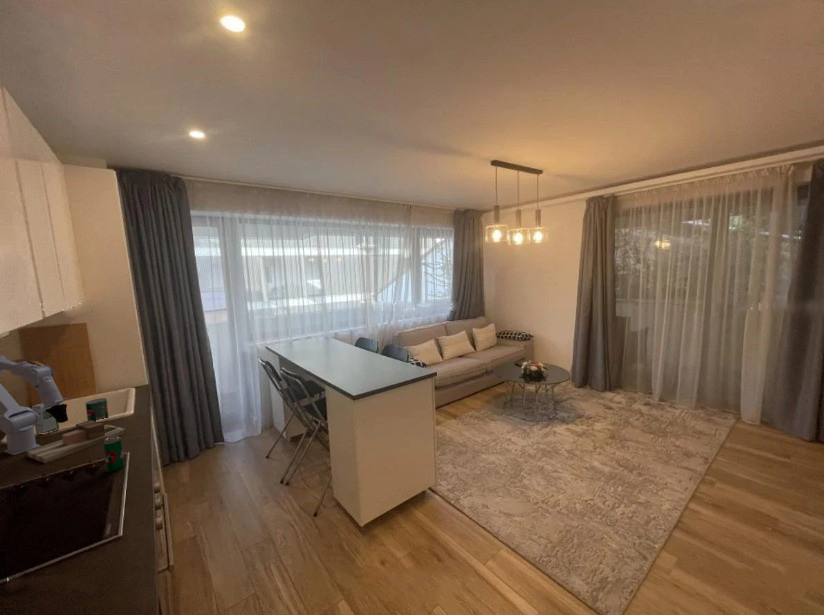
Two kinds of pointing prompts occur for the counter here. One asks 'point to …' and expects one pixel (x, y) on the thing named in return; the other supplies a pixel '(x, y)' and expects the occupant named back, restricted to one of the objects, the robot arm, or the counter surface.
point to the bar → (74, 436)
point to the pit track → (93, 437)
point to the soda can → (113, 453)
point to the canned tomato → (97, 409)
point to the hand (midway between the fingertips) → (63, 421)
